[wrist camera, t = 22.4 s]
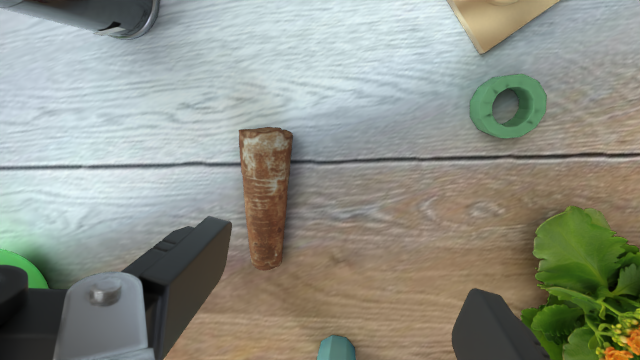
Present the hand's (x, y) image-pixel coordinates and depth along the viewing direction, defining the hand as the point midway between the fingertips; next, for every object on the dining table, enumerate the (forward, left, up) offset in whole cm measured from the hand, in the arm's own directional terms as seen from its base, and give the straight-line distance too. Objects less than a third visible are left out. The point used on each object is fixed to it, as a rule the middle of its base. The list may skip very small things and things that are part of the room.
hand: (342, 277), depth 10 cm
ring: (+6, +16, -30) cm, 34 cm away
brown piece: (0, -12, -30) cm, 32 cm away
